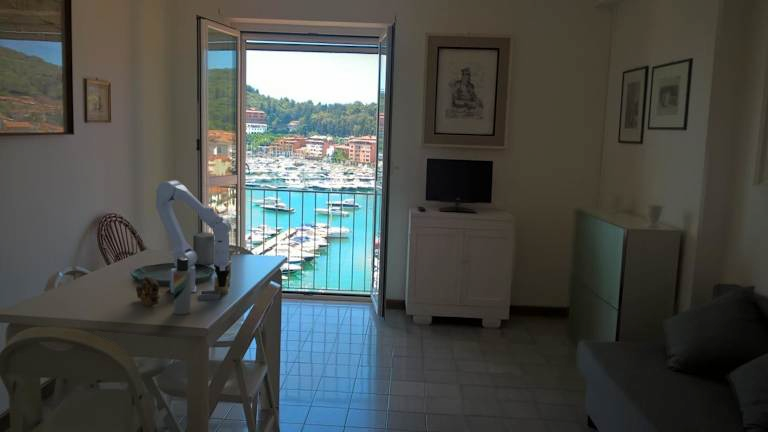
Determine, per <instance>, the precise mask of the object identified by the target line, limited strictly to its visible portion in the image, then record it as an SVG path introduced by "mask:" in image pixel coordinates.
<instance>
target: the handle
mask: <svg viewBox="0 0 768 432" xmlns="http://www.w3.org/2000/svg"><path fill="white" fill-rule="evenodd" d="M234 253H235V249H234V248H230V247H229V261H232V260H231V256H232V255H233V254H234ZM226 270H230V272H229V274H228V276H227V277H228V286H229V285H231V276H232V264H229V265H228V267H227V269H226Z"/></svg>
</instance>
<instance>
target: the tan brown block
mask: <svg viewBox="0 0 768 432" xmlns="http://www.w3.org/2000/svg"><path fill="white" fill-rule="evenodd" d="M213 286H214V290H220V295H222V294H223V295H224V294H225V295H226V294H228V293H229V285H228V277H227V279H226V284H225V287H219V284H218V278H217V276H216V277H214V285H213Z"/></svg>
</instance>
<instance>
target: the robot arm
mask: <svg viewBox="0 0 768 432" xmlns="http://www.w3.org/2000/svg"><path fill="white" fill-rule="evenodd" d="M155 193H156V197H155V198H156V199H155V200H156V201H155V208H156V209H157V212H158V215H159V217H160V220H161V222H162V224H163V227H164V229H165V231H166V233H167V236H168V238H169V241H170V243H171V245H172V248H173V249H172V256H173V265H174V267H175V268H170V282H169V288H170V293H171V294H174V271H175V270H177V259H178V257H187V258H188V270H190V271H191V293H196V292H197V286H196V266H195V265H196V264H194V263H196V261H197V254H196V252H195V251H193V248H192V245H191V244H189V243H188V242H187V241H186V238H185V236H184V233H183V230H182V228H181V226H180V224H179V221H178V218H177V217H176V215H175V212H174V209H173V207H172V205H173V203H174V201H175V200H182V201H184V202H185V203H186V204H187V205H188V206H189V207H191V208H192V209H193V210H195V212H197V213H198V217H199V219H200V220H201V221H202V222H204V223H205V224H206V225H207V226H208V227H209V228H210V229H211V231H212V233H213V234H214V235H215V236H214V263H213V266H214V272H215V275H216V277H217V278H218V284H219V287H225V284H226V279H227V276H228V274H229V272H230V270H226V269H227V267H228V265H229V264H231V265H232V264H233V261H232V260H231V261H229V248H230V233H231V230H232V224H231V222H230V221H229V220H228V219H225V218H224V217H223V216H220V215H219V214H218V213H217V212H216V211H215V208H214V207H210V206H205V205H203V204H202V203H201V201H200V200H199V199H198V198H196V197H195V195H193V193H191V191H190V190H189V189H188V188H187V187H186V185H184V184H182V183H181V182H180V181H179V180H177V179H171V180H168V181H162V182H160V183H159V184H158V186H157V188H156V190H155Z"/></svg>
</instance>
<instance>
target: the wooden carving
mask: <svg viewBox="0 0 768 432" xmlns="http://www.w3.org/2000/svg"><path fill="white" fill-rule="evenodd" d="M141 283H142V284H141V285H137V286H136V289H135V292H136V295H137V299H140V302H141V303H142V304H143V305H145V306H156V305H158V304H159V299H161V295H160V294H159V290H160V283H158V281H157V279H156V278H155V277H149V276H146V277H145V276H144V277H143V279H142V281H141Z"/></svg>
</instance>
